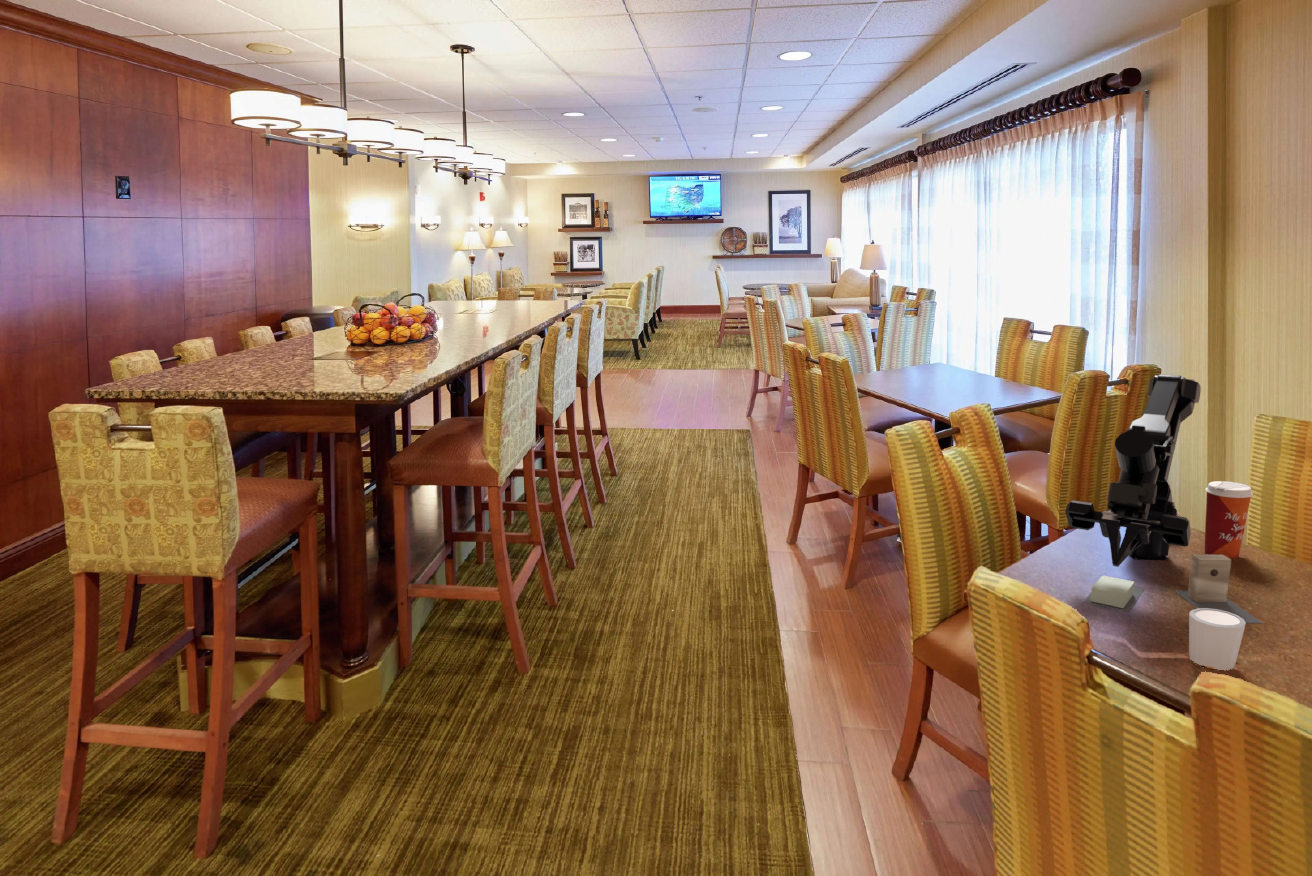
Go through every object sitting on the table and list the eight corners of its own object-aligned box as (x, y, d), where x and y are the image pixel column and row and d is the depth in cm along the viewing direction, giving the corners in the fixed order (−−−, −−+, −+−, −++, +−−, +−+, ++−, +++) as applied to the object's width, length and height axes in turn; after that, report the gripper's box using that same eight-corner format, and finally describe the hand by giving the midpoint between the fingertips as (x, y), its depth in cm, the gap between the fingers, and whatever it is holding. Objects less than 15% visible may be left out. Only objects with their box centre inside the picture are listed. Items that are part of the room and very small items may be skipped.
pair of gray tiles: (1098, 623, 137) (1099, 619, 137) (1060, 581, 154) (1060, 578, 154) (1263, 627, 134) (1263, 623, 134) (1205, 583, 151) (1205, 580, 151)
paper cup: (1230, 564, 160) (1239, 493, 157) (1189, 552, 167) (1197, 484, 164) (1254, 556, 164) (1263, 486, 161) (1212, 545, 170) (1220, 478, 167)
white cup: (1185, 646, 128) (1190, 603, 127) (1240, 657, 125) (1246, 613, 123) (1182, 665, 123) (1187, 620, 121) (1239, 677, 119) (1245, 631, 118)
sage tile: (1102, 575, 149) (1091, 587, 143) (1134, 581, 146) (1124, 594, 140) (1101, 588, 149) (1090, 601, 144) (1133, 595, 146) (1123, 608, 141)
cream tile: (1187, 595, 145) (1192, 554, 143) (1218, 596, 145) (1223, 554, 143) (1195, 601, 143) (1200, 559, 141) (1226, 602, 142) (1231, 559, 141)
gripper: (1072, 456, 150) (1049, 532, 144) (1195, 471, 138) (1175, 554, 132) (1080, 489, 158) (1059, 562, 152) (1197, 505, 146) (1179, 585, 140)
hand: (1115, 565), depth 144 cm, fingers closed
